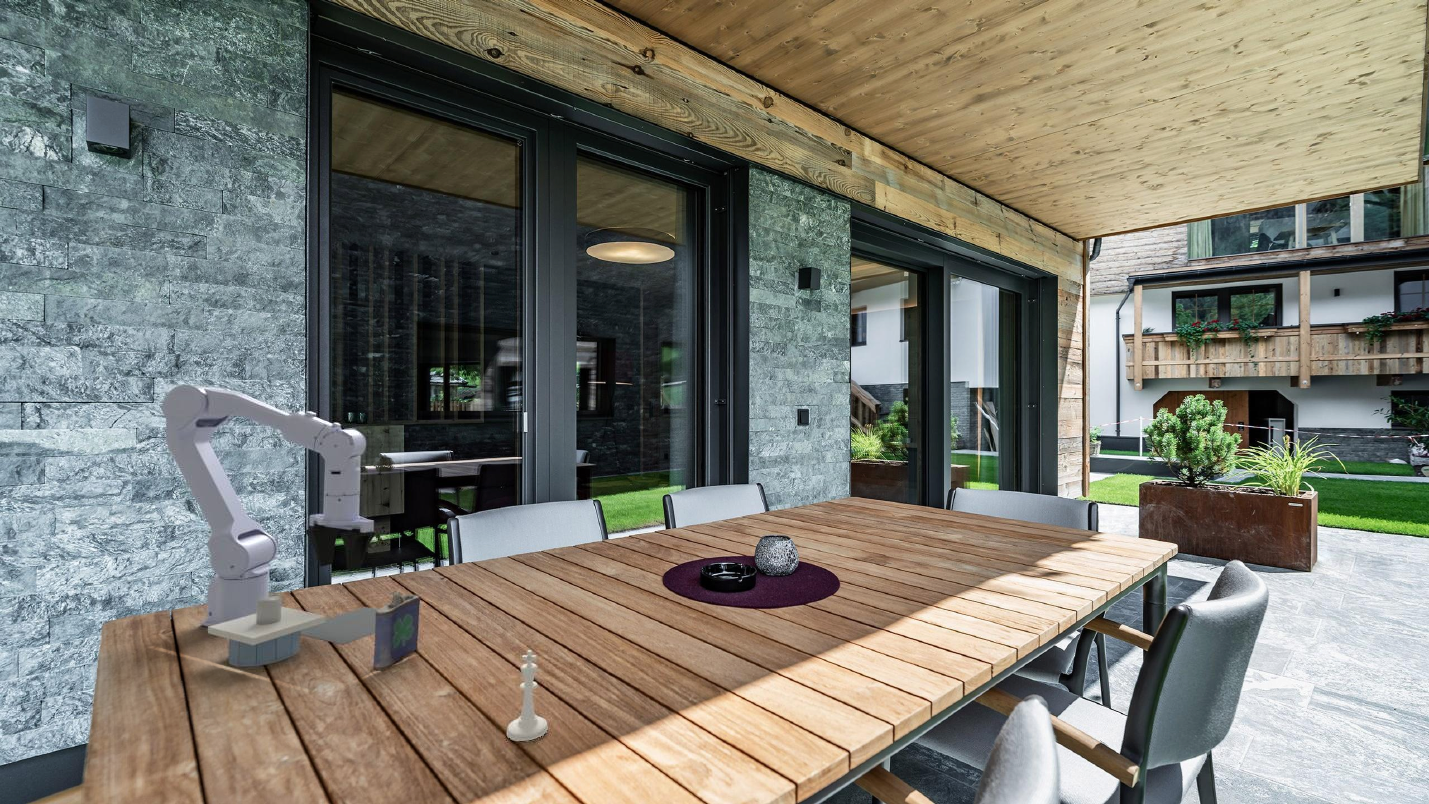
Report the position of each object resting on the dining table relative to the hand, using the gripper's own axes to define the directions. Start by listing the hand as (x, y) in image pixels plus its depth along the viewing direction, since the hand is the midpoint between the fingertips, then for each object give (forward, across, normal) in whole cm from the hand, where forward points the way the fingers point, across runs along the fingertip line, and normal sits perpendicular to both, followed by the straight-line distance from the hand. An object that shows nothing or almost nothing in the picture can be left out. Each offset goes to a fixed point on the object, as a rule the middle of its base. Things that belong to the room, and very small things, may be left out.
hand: (339, 567), depth 114 cm
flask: (+10, +24, -8) cm, 27 cm away
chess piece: (+10, +57, -17) cm, 60 cm away
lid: (+5, +5, -16) cm, 17 cm away
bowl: (+10, +5, -16) cm, 19 cm away
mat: (+10, +5, 0) cm, 11 cm away
